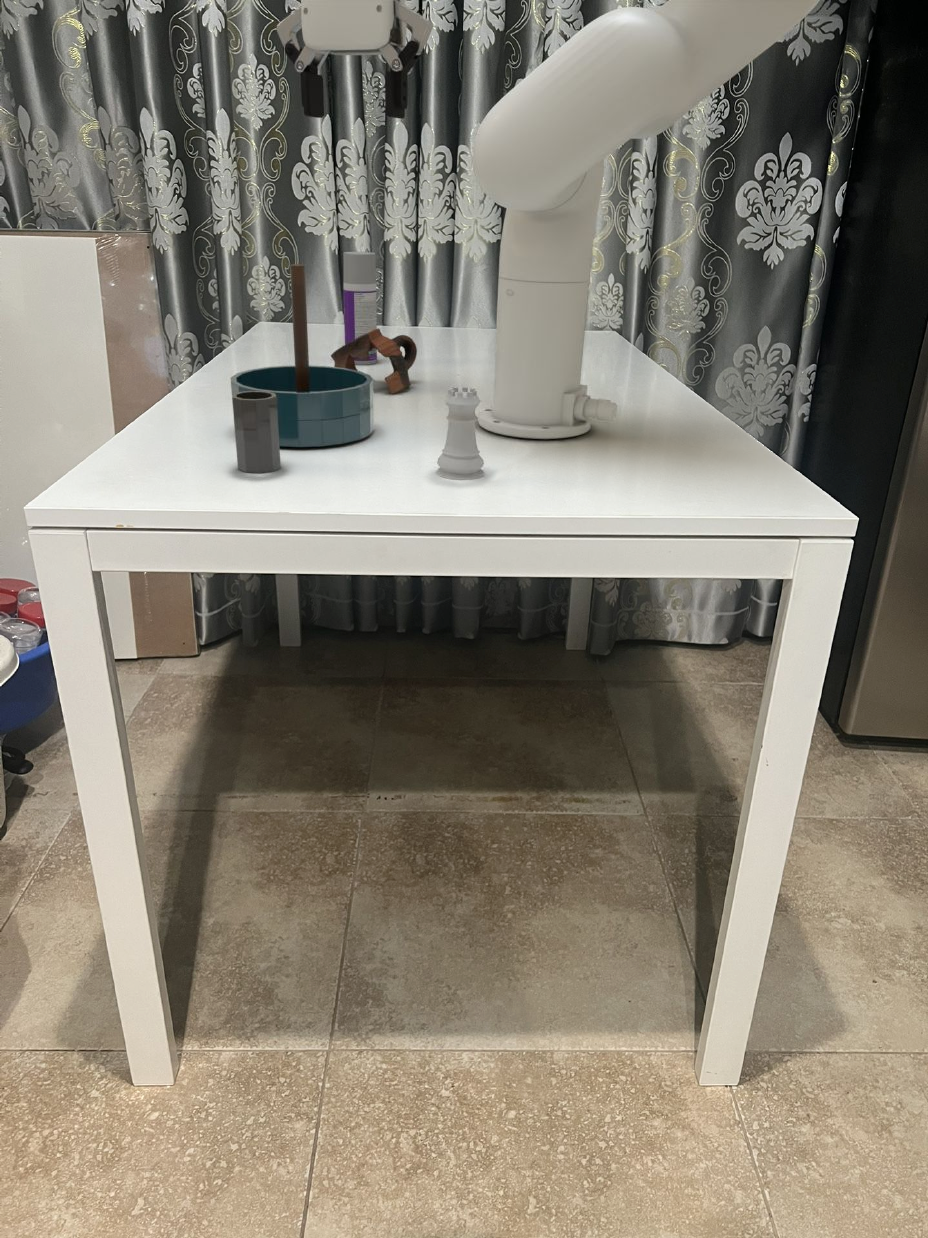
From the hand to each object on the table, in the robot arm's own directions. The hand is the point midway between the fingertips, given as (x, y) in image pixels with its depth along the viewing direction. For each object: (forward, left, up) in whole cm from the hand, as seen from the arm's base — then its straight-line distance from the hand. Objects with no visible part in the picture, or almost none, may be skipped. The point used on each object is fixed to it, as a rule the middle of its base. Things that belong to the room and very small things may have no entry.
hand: (354, 116), depth 96 cm
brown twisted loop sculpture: (+3, -11, -31) cm, 32 cm away
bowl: (-2, +16, -30) cm, 34 cm away
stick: (-2, +16, -30) cm, 34 cm away
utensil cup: (-5, +29, -30) cm, 42 cm away
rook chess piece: (-22, +22, -31) cm, 44 cm away
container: (+13, -25, -31) cm, 42 cm away
